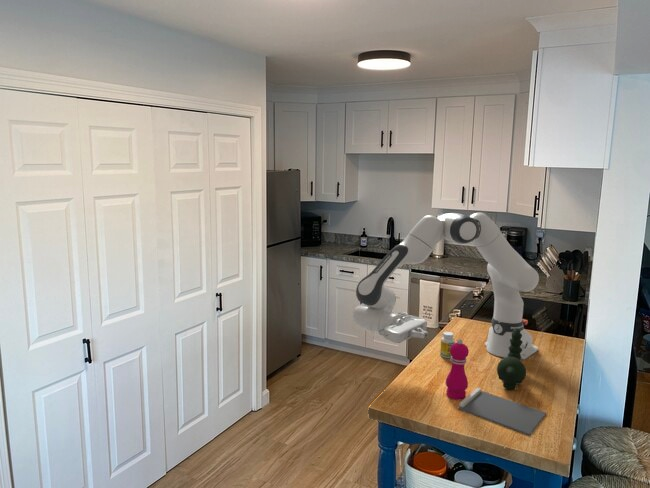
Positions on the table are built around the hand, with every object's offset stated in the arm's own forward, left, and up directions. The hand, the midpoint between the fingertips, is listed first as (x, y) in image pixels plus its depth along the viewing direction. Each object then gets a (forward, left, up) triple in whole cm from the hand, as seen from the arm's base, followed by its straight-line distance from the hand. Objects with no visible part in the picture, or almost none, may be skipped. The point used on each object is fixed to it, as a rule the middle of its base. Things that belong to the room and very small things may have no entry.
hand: (425, 335), depth 165 cm
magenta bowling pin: (-3, +12, -18) cm, 22 cm away
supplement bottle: (-26, -12, -18) cm, 34 cm away
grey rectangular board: (-7, +27, -18) cm, 33 cm away
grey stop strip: (-5, +17, -18) cm, 25 cm away
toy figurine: (-28, +16, -18) cm, 37 cm away
